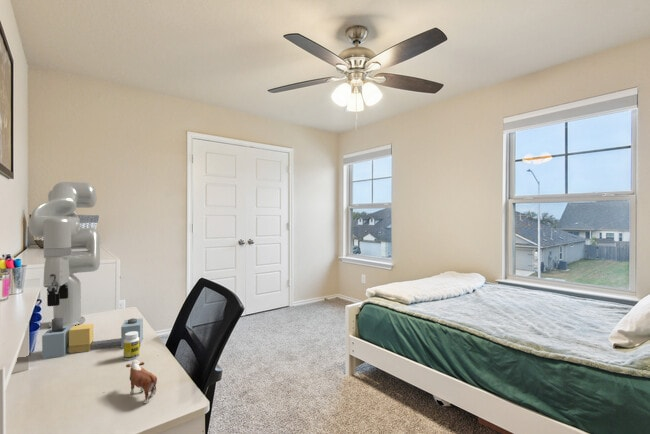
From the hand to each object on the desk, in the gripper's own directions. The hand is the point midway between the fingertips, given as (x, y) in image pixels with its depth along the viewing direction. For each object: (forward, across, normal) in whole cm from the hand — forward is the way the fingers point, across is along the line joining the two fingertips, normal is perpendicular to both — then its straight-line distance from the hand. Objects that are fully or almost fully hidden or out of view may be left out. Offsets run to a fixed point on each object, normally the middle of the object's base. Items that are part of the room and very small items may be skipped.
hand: (58, 301), depth 117 cm
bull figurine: (+18, +40, +30) cm, 53 cm away
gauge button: (+10, 0, 0) cm, 10 cm away
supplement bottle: (+18, +13, +24) cm, 33 cm away
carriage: (+18, 0, +7) cm, 19 cm away
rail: (+18, 0, +11) cm, 21 cm away
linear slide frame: (+18, 0, +11) cm, 21 cm away
